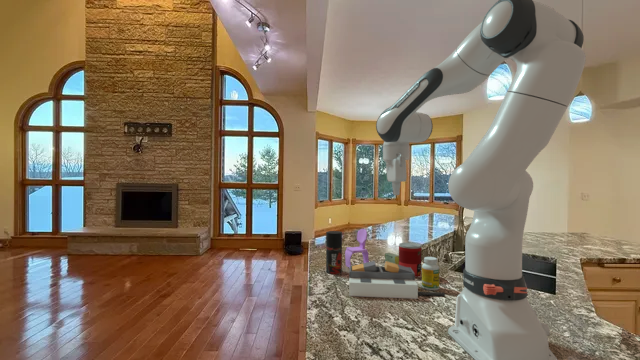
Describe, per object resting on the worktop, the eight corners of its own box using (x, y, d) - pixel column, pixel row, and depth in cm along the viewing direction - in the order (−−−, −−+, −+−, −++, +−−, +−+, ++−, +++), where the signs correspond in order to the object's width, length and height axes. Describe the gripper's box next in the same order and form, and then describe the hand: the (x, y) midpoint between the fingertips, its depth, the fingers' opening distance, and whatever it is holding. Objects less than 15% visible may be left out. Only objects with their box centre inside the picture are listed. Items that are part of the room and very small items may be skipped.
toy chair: (343, 265, 128) (343, 228, 128) (363, 263, 131) (363, 227, 131) (351, 270, 120) (351, 231, 120) (372, 268, 123) (372, 230, 123)
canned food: (422, 278, 111) (422, 247, 111) (399, 276, 113) (399, 246, 113) (420, 272, 118) (420, 243, 118) (398, 270, 120) (398, 242, 120)
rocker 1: (409, 279, 97) (411, 272, 97) (385, 272, 98) (387, 265, 98) (406, 274, 102) (408, 267, 102) (383, 267, 103) (385, 260, 103)
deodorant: (328, 274, 115) (328, 233, 115) (324, 270, 121) (324, 231, 121) (344, 273, 116) (344, 233, 116) (338, 269, 122) (339, 230, 122)
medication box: (384, 262, 133) (384, 253, 133) (389, 261, 134) (389, 252, 134) (405, 269, 123) (404, 259, 123) (410, 268, 124) (410, 258, 124)
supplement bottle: (426, 283, 105) (426, 255, 105) (442, 287, 101) (442, 258, 101) (418, 287, 101) (418, 258, 101) (434, 292, 97) (434, 261, 97)
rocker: (377, 272, 98) (375, 264, 99) (354, 277, 99) (352, 270, 99) (376, 267, 103) (374, 260, 104) (353, 272, 104) (352, 265, 104)
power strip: (447, 299, 91) (447, 279, 91) (349, 295, 94) (349, 275, 94) (436, 285, 103) (436, 267, 103) (349, 282, 106) (349, 265, 106)
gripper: (411, 151, 98) (411, 196, 97) (400, 157, 118) (400, 193, 118) (390, 152, 98) (391, 196, 98) (383, 157, 118) (383, 193, 118)
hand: (396, 195), depth 108 cm, fingers closed
